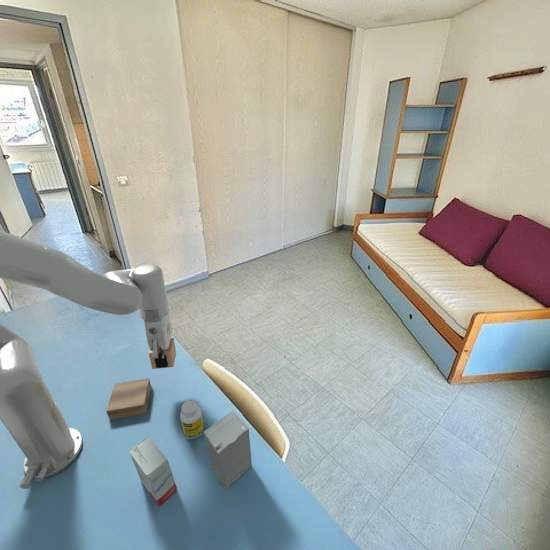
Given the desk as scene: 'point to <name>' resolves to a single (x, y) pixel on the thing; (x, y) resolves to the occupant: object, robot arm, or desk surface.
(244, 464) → the skincare box
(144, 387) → the walnut block
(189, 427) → the supplement bottle
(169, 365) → the terracotta cube
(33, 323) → the desk surface
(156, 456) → the ink box
